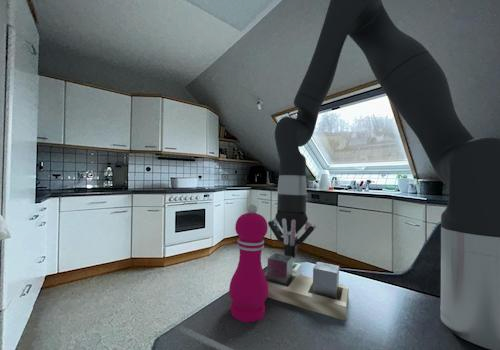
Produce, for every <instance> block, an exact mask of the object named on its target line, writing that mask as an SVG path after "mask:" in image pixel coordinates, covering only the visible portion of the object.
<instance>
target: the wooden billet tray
mask: <svg viewBox="0 0 500 350" xmlns="http://www.w3.org/2000/svg"><path fill="white" fill-rule="evenodd" d="M264 274H265V277H266V279H267V270H265V272H264ZM267 283H268V297H267V298H270V299H272V300H275V301H278V302H282V303H286V304H290V305H292V306H296V307H299V308H301V309H305V310H308V311H311V312H314V313H319V314H322V315H324V316H328V317H330V318H331V317H332V318H334V319H338V320H342V321H345V322H346V321H347V320H346V319H347V315H348V314H347V313H348V312H347V311H348V304H349V288H350V287H349V285H344V284H341V283H339V289H338V300H335V299H331V298H327V297H323V296H320V295H316V294H313V277H311V276H306V275H302V274H300V275H299V274H294V273H292V282H291V284H290V285H289V286H288V287H286V286H282V285H279V284H275V283H271V282H268V281H267Z"/></svg>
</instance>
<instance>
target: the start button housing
mask: <svg viewBox="0 0 500 350" xmlns="http://www.w3.org/2000/svg"><path fill="white" fill-rule="evenodd" d="M295 263H296V267H295V268H294V269H292V273H294V274H299V275H302V264H301V263H299V262H295Z"/></svg>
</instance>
